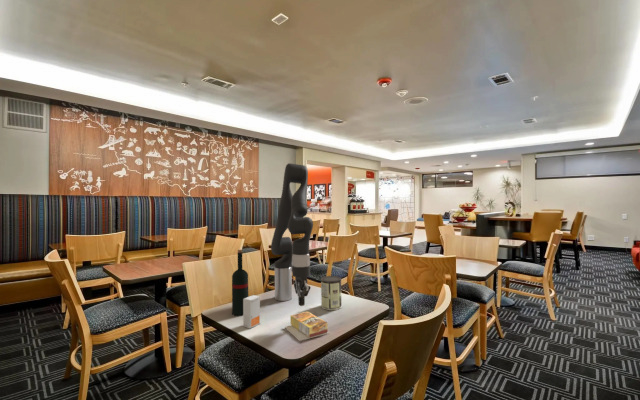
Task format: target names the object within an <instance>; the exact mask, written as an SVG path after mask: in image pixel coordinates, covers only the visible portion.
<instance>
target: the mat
mask: <svg viewBox="0 0 640 400" xmlns="http://www.w3.org/2000/svg"><path fill="white" fill-rule="evenodd" d="M284 327H285V329H286V330H287V331H288V332H289V333H290V334H291V335H292V336H293V337H295V339H297V340H298V342H301V341H305V340H309V339H312V338H316V337H321V336H325V335H327V334H330V332H329V331H328V332H326V333H323V334H319V335H316V336H313V337H310V338H309V337H308V336H306V335H305V334H304V333H302V332H301V331H299V330H298V329H296V328H295V327H294V326H292V325H291V324H290V325H288V326H284Z"/></svg>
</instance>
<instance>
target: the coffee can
mask: <svg viewBox="0 0 640 400" xmlns="http://www.w3.org/2000/svg"><path fill="white" fill-rule="evenodd" d="M320 290H321V291H320V292H321V299H320V300H321V302H320V303H321V308H322V309H323V310H326V311H336V310H340V309H342V307H343V306H342V277H339V276H335V275H328V276H322V277H321V278H320Z"/></svg>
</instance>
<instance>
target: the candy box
mask: <svg viewBox="0 0 640 400" xmlns="http://www.w3.org/2000/svg"><path fill="white" fill-rule="evenodd" d="M290 325H292V326H294V327H295V328H296V329H298V330H299V331H301V332H302V333H304V334H305V335H306V336H308V337H309V339H311V338H310V337H313V336H316V335H319V334H323V333H326V332H329V330H328V325H329V323H328V322H327V321H325V320H324V319H322V318H319V317H318V316H317V315H315V314H313V313H311V312H310V311H303V312H298V313H295V314H290ZM313 338H314V337H313Z"/></svg>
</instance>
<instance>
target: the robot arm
mask: <svg viewBox="0 0 640 400" xmlns="http://www.w3.org/2000/svg"><path fill="white" fill-rule="evenodd" d="M308 171H309V170H308V167H307V166H306V165H303V164H298V163H297V164H296V163H290V162H289V163H287V164H286V165H285V167H284V175H283V184H282V190H281V191H282V192H281V196H280V201H279V205H278V206H279V207H278V211H277V218H276V224H275V229H274V232H273V236H272V240H271V244H270V250H271V253H272V254H273V255H274V256H282V257H280V258H279V259H278V260H276V261H274V300H276V301H279V302H286V301H287V302H288V301H290V300H292V299H293V288H294V291H295V294H297V297H298V299H297V300H298V306H299V307H303V306H305V302H306V301H305V300H306V299H305V297H307V296H308V294H309V293H310V290H311V286H310V285H309V284H308V283H309V281H308V277H309V276H311V258H310V240H311V235H312V231H313V228H314V222H313V220H312V218H311V217H309V216H307V214H308V201H307V200H308V199H307V194H308V193H307V192H308V183H309V182H308V181H309V172H308ZM291 183H292V184H300V185H299V187H298V188H297V190H296V191H295V192H294V194H292V191H291V186H290V185H291ZM286 231H288V232H289V233H290V234H292V235H303V236H302V237H301V238H298V239H294V240H292V239H291V237H290V236H285V237H283V236H284V233H286ZM292 277H294V280H293V278H292Z"/></svg>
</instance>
